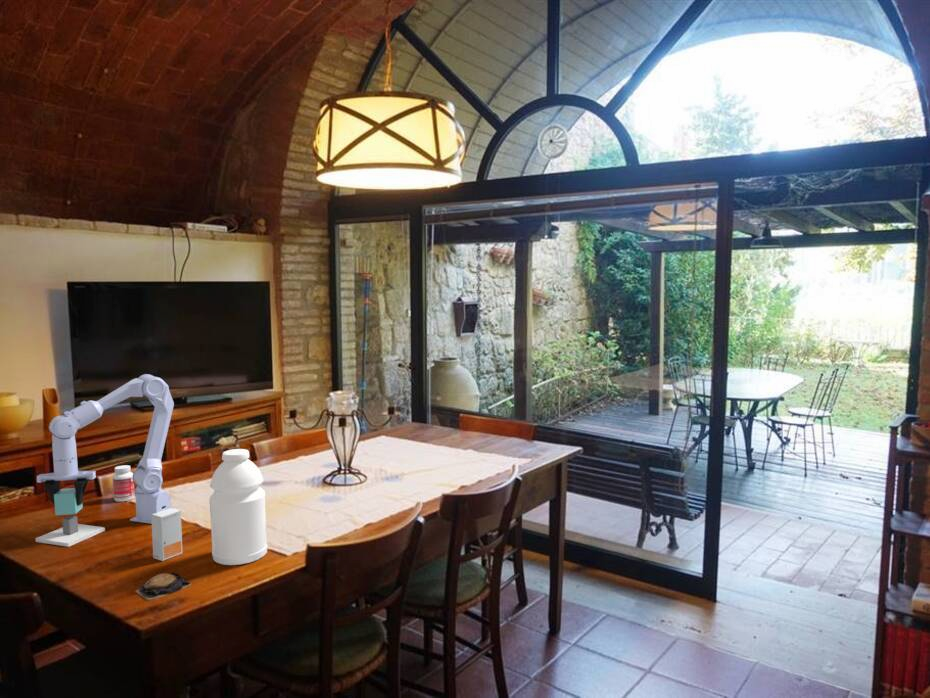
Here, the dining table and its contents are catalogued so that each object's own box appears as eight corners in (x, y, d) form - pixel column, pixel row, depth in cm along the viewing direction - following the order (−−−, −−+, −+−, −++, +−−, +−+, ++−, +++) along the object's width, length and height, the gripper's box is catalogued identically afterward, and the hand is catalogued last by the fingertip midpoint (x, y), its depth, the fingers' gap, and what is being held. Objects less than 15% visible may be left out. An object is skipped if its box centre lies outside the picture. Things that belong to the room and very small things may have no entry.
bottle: (225, 544, 179) (220, 444, 176) (274, 544, 178) (270, 444, 175) (203, 566, 165) (197, 458, 162) (256, 566, 164) (252, 458, 161)
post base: (104, 530, 189) (103, 512, 189) (68, 546, 178) (67, 527, 177) (73, 526, 193) (71, 508, 192) (35, 541, 181) (34, 522, 181)
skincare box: (162, 562, 168) (160, 517, 166) (152, 558, 170) (150, 514, 169) (183, 553, 173) (181, 510, 172) (174, 550, 175) (171, 507, 174)
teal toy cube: (82, 507, 188) (81, 487, 187) (75, 513, 183) (74, 493, 182) (63, 509, 187) (61, 488, 186) (55, 515, 182) (53, 494, 181)
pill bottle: (135, 499, 216) (133, 467, 215) (115, 503, 213) (112, 470, 212) (133, 494, 221) (131, 463, 220) (113, 498, 218) (111, 466, 217)
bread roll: (148, 604, 147) (147, 589, 146) (133, 593, 152) (132, 578, 152) (194, 587, 155) (193, 572, 154) (177, 576, 160) (177, 562, 160)
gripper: (98, 453, 188) (101, 498, 190) (43, 456, 186) (46, 502, 187) (89, 459, 181) (92, 506, 183) (31, 462, 179) (35, 510, 180)
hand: (68, 505), depth 184 cm, fingers closed on teal toy cube, 5 cm apart
